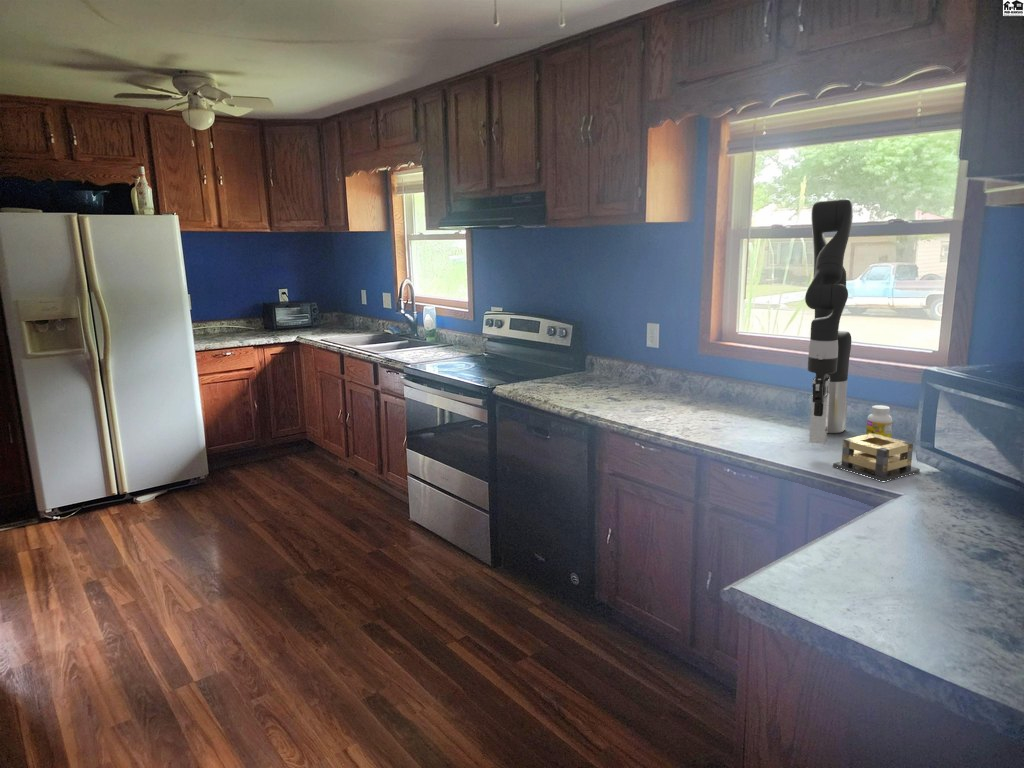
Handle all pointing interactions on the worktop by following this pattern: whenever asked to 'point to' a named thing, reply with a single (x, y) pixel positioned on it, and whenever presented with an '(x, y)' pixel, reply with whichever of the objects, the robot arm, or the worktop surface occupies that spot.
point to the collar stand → (877, 457)
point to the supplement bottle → (879, 421)
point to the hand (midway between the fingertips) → (819, 413)
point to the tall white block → (819, 423)
